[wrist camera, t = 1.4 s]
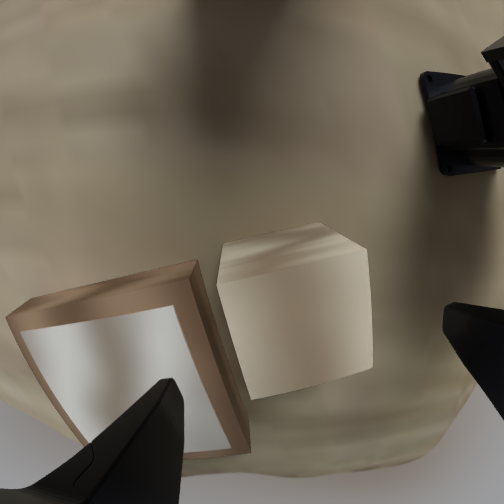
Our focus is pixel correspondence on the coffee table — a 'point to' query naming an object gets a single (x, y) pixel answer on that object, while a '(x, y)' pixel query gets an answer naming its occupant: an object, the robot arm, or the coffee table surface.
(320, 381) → the oak block
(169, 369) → the base slab
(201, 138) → the coffee table surface
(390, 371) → the coffee table surface
